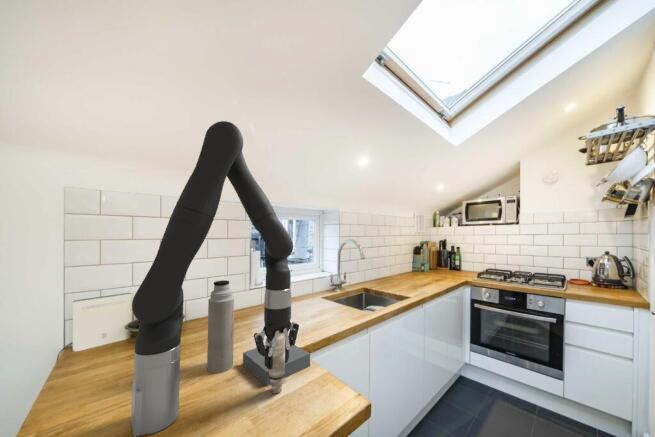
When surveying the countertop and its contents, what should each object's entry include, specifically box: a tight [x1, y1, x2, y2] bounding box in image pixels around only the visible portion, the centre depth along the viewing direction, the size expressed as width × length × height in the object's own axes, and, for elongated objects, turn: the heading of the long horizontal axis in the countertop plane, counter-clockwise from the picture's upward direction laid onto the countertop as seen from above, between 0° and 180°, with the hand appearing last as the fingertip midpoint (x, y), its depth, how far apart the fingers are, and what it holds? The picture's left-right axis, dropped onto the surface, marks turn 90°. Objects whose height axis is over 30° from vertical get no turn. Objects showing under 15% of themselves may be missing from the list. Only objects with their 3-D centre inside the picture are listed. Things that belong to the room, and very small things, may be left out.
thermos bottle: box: [206, 279, 235, 374], centre depth 85 cm, size 8×8×28 cm
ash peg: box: [269, 332, 285, 394], centre depth 72 cm, size 4×4×16 cm
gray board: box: [242, 344, 311, 387], centre depth 85 cm, size 16×16×4 cm
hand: (277, 364), depth 72 cm, fingers closed on ash peg, 4 cm apart
